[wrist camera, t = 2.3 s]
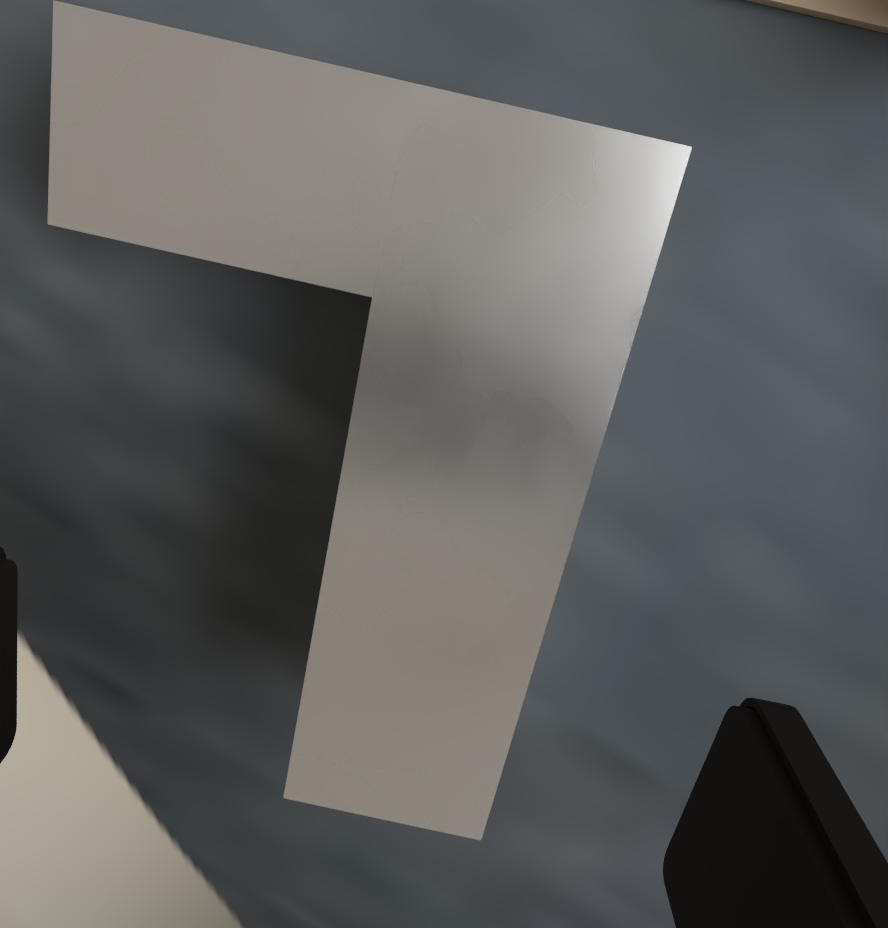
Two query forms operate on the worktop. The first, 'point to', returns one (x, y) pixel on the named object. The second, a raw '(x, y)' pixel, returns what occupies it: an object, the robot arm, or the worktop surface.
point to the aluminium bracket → (396, 356)
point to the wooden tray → (839, 11)
